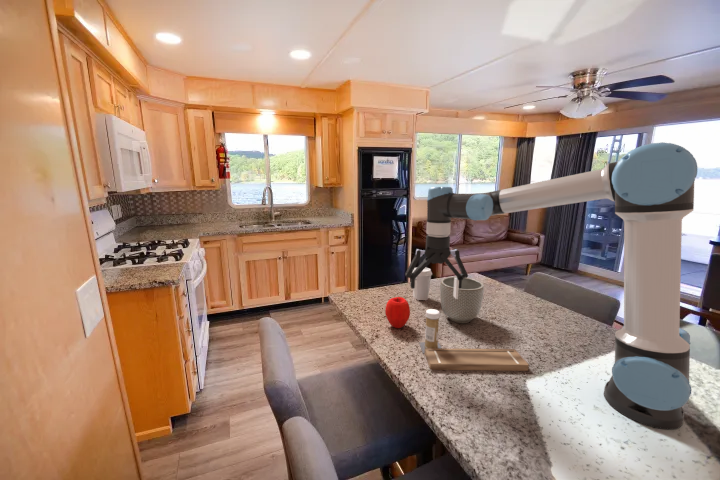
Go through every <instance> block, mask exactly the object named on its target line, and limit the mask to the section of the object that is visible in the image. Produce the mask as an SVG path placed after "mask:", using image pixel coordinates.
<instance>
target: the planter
mask: <svg viewBox="0 0 720 480" xmlns="http://www.w3.org/2000/svg"><path fill="white" fill-rule="evenodd" d="M454 278H457V276H449V277H444V278H442V279H440V284H439V292H440V293H439V294H440V295H439V297H440V306H441V310H442V312H443V313H444V315H446V316H447V317H448V319H449V320H450V321H452V322H453V323H457V324H467V323H469V322H471V320H474V319H475V318H477V316H479V315H480V312H481V308H482V306H483V305H482V303H483V301H484V293H485V285H484V283H483V282H481V281H480V280H477V279H474V278H470V277H467V278H463V280H462V286H461V289H460V288H459V289H458V299H455V297H454V296H453V292H454Z"/></svg>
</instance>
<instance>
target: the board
mask: <svg viewBox="0 0 720 480" xmlns="http://www.w3.org/2000/svg"><path fill="white" fill-rule="evenodd" d="M424 356H425V359H426V363H427V365H428V367H429V371H497V372H498V371H501V372H502V371H503V372H504V371H505V372H507V371H509V372H510V371H511V372H512V371H513V372H514V371H515V372H516V371H517V372H519V371H520V372H521V371H523V372H525V371H527V372H528V371H529V366H530V365H529V363H528V362H527V361H526V360H525V359H524V358H523V356H521V355H520V353H519V352H518V351H517V349H515V348H443V347H441V348H425V354H424Z"/></svg>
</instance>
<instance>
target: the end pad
mask: <svg viewBox="0 0 720 480" xmlns="http://www.w3.org/2000/svg"><path fill="white" fill-rule="evenodd" d="M418 344H419V346H420V349H421V351H422V354H424V355H425V341H421V342H418ZM438 348H442V346H441V344H440V342H439V341H438Z"/></svg>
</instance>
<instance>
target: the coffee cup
mask: <svg viewBox="0 0 720 480" xmlns="http://www.w3.org/2000/svg"><path fill="white" fill-rule="evenodd" d="M417 267H418V266H417ZM417 267H416V266H415V268H414V270H413V272H414V271H415V270H416V268H417ZM413 272H412V273H413ZM412 273H411V274H412ZM432 276H433V272H432V269H431V268H429V267H427V266H426V267H425V268H424V270H423V271H422V272H421V273H420V274H419V275H418V276H417V277H416V278H417V300H416V301H419V300H425V301H428V299H429V293H430V285H431V279H432Z"/></svg>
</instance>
